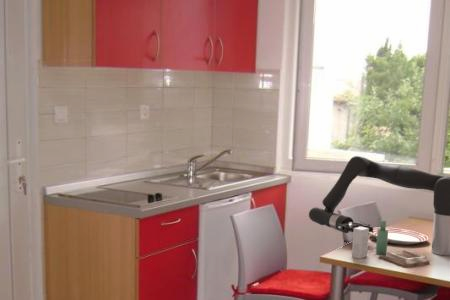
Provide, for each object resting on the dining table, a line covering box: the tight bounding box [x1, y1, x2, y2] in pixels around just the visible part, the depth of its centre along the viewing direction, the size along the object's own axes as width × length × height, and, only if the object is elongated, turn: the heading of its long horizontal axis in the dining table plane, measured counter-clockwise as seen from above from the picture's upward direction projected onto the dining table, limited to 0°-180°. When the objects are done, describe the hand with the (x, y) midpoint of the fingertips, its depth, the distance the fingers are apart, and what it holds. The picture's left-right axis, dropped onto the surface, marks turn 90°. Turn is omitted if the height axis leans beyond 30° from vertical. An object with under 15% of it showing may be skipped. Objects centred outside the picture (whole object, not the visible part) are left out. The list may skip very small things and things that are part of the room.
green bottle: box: [375, 219, 388, 256], centre depth 254 cm, size 4×4×14 cm
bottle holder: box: [378, 249, 431, 268], centre depth 243 cm, size 14×14×3 cm
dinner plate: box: [369, 226, 429, 246], centre depth 281 cm, size 28×27×3 cm
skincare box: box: [351, 227, 370, 260], centre depth 247 cm, size 6×4×12 cm
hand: (365, 230), depth 263 cm, fingers open, 8 cm apart
